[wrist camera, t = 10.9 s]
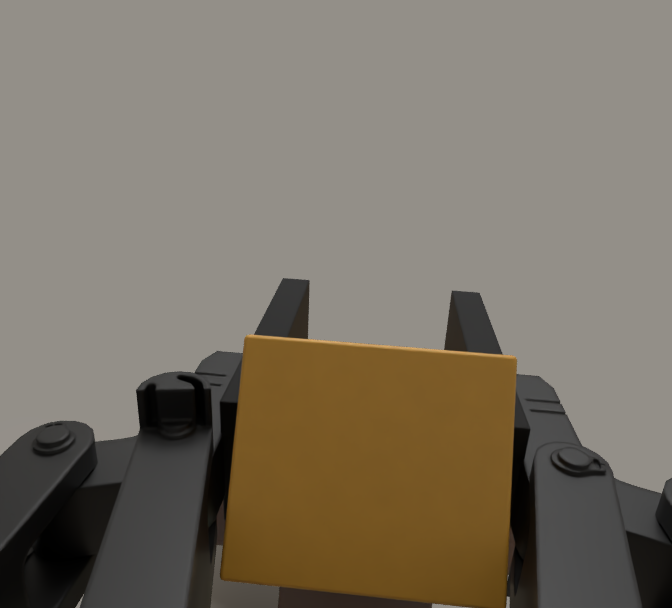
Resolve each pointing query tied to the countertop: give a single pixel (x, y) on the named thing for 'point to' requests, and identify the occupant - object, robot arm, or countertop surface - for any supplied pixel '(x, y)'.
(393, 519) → the box
